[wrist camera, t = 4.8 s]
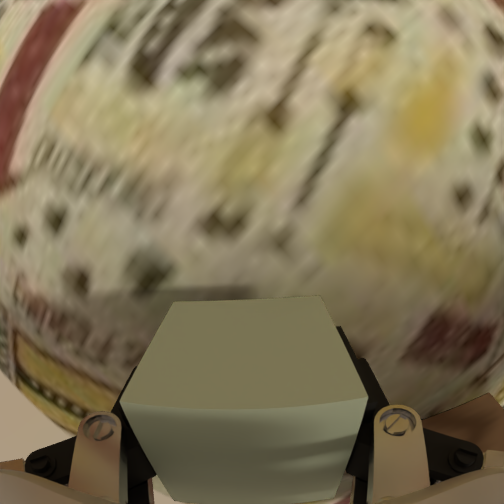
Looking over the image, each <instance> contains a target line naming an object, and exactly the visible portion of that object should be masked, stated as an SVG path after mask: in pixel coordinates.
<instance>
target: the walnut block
mask: <svg viewBox="0 0 504 504" xmlns="http://www.w3.org/2000/svg"><path fill="white" fill-rule="evenodd" d="M421 422H422V427H423V428H426V429H429V430H432V431H435V432H438V433H441V434H445V435H448V436H451V437H455V438H458V439H462V440H465V441H469V442H472V443H474V444H476V445H477V446H478V447H479V448H480V449H481V451H482V452H483V453H485V452H486V450H495V451H504V409H503V408H502V407H501V405H500V404H499V403H498V402H497V401H496V400H495V398H494V397H493V396H492V395H491V394H490V393H487V394H485V395H483V396H481V397H479V398H476V399H474V400H472V401H470V402H468V403H465V404H463V405H461V406H458V407H456V408H453V409H451V410H448V411H446V412H443V413H440V414H438V415H435V416H432V417H429V418H427V419H424V420H421Z"/></svg>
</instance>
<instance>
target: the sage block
mask: <svg viewBox="0 0 504 504" xmlns="http://www.w3.org/2000/svg"><path fill="white" fill-rule="evenodd" d="M367 400H368V395H367V393H366V390H365V388H364V386H363V384H362V382H361V380H360V377H359V375H358V373H357V371H356V369H355V367H354V364H353V362H352V360H351V358H350V356H349V354H348V352H347V349H346V347H345V345H344V343H343V341H342V339H341V337H340V335H339V333H338V331H337V329H336V327H335V325H334V323H333V320H332V318H331V316H330V314H329V312H328V310H327V308H326V306H325V304H324V302H323V300H322V298H321V296H320V295H318V296H304V297H287V298H269V299H248V300H221V301H176V302H173V304H172V306H171V307H170V309H169V311H168V313H167V314H166V316H165V318H164V320H163V321H162V323H161V325H160V327H159V328H158V330H157V332H156V334H155V336H154V337H153V339H152V341H151V343H150V345H149V346H148V348H147V350H146V352H145V354H144V356H143V357H142V359H141V361H140V363H139V365H138V367H137V369H136V370H135V372H134V374H133V376H132V378H131V380H130V382H129V384H128V386H127V387H126V389H125V391H124V393H123V395H122V397H121V399H120V401H119V402H120V404H121V406H122V409H123V411H124V413H125V415H126V417H127V419H128V421H129V424H130V426H131V428H132V430H133V432H134V434H135V436H136V438H137V439H138V441H139V443H140V445H141V447H142V449H143V451H144V453H145V454H146V456H147V458H148V460H149V461H150V463H151V465H152V467H153V468H154V470H155V472H156V473H157V475H158V477H159V478H160V480H161V482H162V483H163V485H164V486H165V488H166V489H167V491H168V492H169V494H170V495H171V497H172V498H173V500H174V501H179V502H187V503H197V504H295V503H304V502H312V501H320V500H326V499H332V498H334V496H335V494H336V492H337V489H338V487H339V484H340V482H341V479H342V477H343V474H344V472H345V469H346V466H347V464H348V461H349V458H350V455H351V452H352V450H353V447H354V444H355V441H356V438H357V434H358V431H359V428H360V425H361V421H362V418H363V415H364V411H365V407H366V404H367Z"/></svg>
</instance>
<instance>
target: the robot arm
mask: <svg viewBox="0 0 504 504" xmlns="http://www.w3.org/2000/svg"><path fill="white" fill-rule="evenodd" d="M336 329H337V331H338V333H339V335H340V337H341V339H342V341H343V343H344V345H345V347H346V349H347V352H348V354H349V356H350V358H351V360H352V362H353V364H354V367H355V369H356V371H357V373H358V375H359V377H360V380H361V382H362V384H363V386H364V388H365V390H366V393H367V395H368V400H367V404H366V407H365V411H364V415H363V418H362V421H361V425H360V428H359V431H358V434H357V438H356V441H355V444H354V447H353V450H352V452H351V455H350V458H349V461H348V464H347V466H346V469H345V470H346V472H347V473H349V474H351V475H353V481H352V490H351V498H350V504H504V451H495V450H486V452H485V453H483V452H482V451H481V449H480V448H479V447H478V446H477V445H476V444H474V443H472V442H469V441H465V440H462V439H458V438H455V437H451V436H448V435H445V434H441V433H438V432H435V431H432V430H429V429H426V428H423V427H422V422H421V419H420V416H419V414H418V413H417V412H416V411H415V410H413V409H412V408H410V407H408V406H405V405H397V404H396V405H389V403H388V401H387V399H386V397H385V395H384V393H383V391H382V389H381V387H380V385H379V383H378V381H377V380H376V378H375V376H374V374H373V372H372V370H371V368H370V366H369V364H368V362H367V361H366V359H364V358H360V359H357V358H356V356H355V354H354V352H353V350H352V348H351V346H350V344H349V342H348V340H347V338H346V336H345V334H344V332H343V330H342V328H341V326H337V327H336ZM137 367H138V366H136V367H135V368H134V369H133V371H132V373H131V375H130V377H129V378H128V380H127V382H126V384H125V386H124V388H123V390H122V392H121V393H120V395H119V397H118V399H117V401H116V403H115V405H114V407H113V409H112V411H111V413H110V412H105V411H100V412H95V413H92V414H89V415H88V416H86V417H85V418H84V419H83V420H82V421H81V423H80V425H79V428H78V432H77V436H75V437H72V438H70V439H67V440H64V441H62V442H59V443H56V444H53V445H51V446H47V447H45V448H42V449H39V450H36V451H34V452H32V453H31V454H30V455H29V456H28V457H27V459H26V461H24V459H22V458H21V459H16V460H11V461H5V462H0V504H154V495H153V484H152V477H154V476H156V475H157V473H156V472H155V470H154V468H153V467H152V465H151V463H150V461H149V460H148V458H147V456H146V454H145V453H144V451H143V449H142V447H141V445H140V443H139V441H138V439H137V438H136V436H135V434H134V432H133V430H132V428H131V426H130V424H129V421H128V419H127V417H126V415H125V413H124V411H123V409H122V406H121V404H120V402H119V401H120V399H121V397H122V395H123V393H124V391H125V389H126V387H127V386H128V384H129V382H130V380H131V378H132V376H133V374H134V372H135V370H136V369H137Z"/></svg>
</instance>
